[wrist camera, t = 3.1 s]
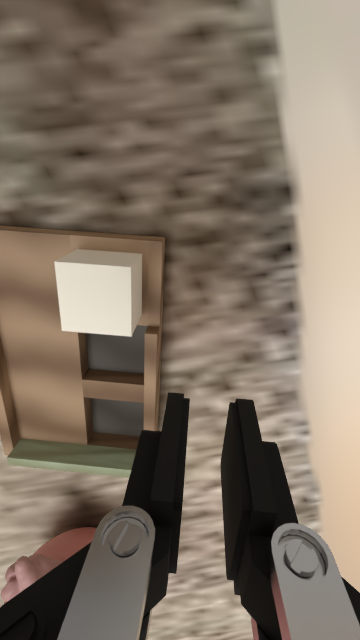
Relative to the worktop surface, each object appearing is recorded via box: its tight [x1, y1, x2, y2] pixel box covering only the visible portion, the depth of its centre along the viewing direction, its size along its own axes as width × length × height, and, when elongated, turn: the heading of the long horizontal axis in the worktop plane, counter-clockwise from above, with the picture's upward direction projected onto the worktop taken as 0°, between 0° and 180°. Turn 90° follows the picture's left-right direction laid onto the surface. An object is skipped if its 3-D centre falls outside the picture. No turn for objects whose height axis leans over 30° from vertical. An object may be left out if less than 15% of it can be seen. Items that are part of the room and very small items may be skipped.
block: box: [54, 249, 142, 337], centre depth 23 cm, size 5×5×4 cm
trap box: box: [0, 226, 165, 477], centre depth 28 cm, size 22×15×4 cm
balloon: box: [1, 527, 97, 604], centre depth 34 cm, size 15×20×15 cm
